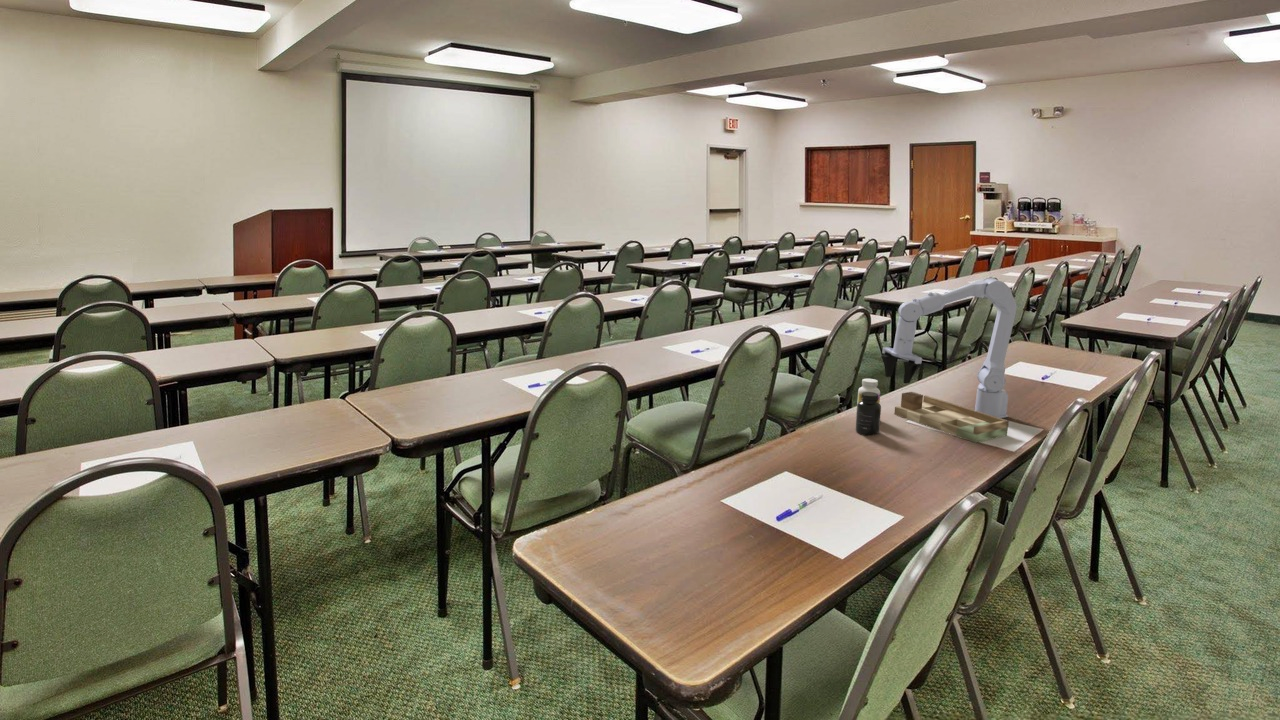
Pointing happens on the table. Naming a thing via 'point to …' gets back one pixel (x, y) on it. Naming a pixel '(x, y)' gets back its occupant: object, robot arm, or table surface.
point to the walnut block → (911, 400)
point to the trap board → (956, 420)
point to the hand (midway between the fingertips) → (897, 379)
